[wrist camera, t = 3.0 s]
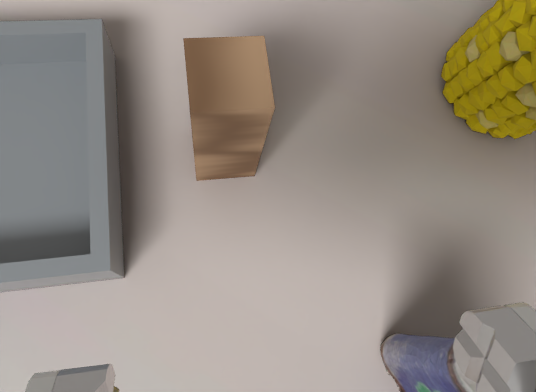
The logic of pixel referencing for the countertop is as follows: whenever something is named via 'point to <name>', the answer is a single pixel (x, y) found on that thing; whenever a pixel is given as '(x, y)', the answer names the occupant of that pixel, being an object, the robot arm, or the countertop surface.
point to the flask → (424, 364)
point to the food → (496, 71)
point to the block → (228, 104)
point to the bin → (58, 155)
